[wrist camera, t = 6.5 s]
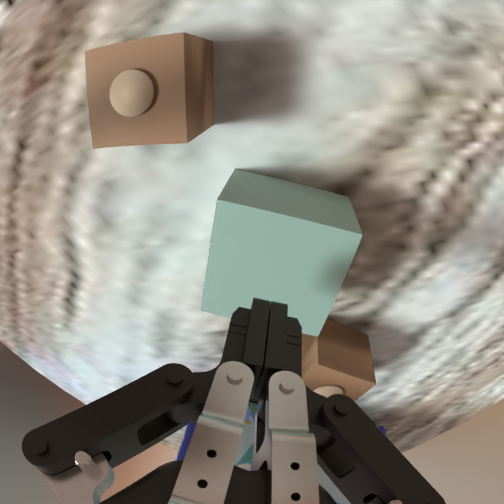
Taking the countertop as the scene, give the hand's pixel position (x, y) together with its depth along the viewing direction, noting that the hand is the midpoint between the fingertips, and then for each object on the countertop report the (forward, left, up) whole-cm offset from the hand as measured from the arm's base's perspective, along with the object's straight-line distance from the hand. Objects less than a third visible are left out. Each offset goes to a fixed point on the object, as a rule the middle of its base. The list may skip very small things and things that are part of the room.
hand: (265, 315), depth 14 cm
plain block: (0, 0, -8) cm, 8 cm away
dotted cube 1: (+9, +6, -8) cm, 14 cm away
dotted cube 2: (-8, -8, -8) cm, 14 cm away
